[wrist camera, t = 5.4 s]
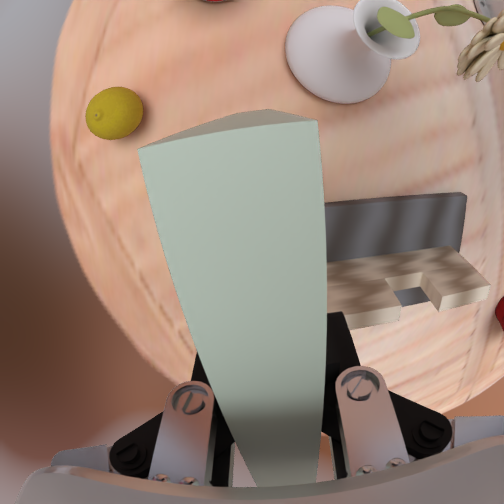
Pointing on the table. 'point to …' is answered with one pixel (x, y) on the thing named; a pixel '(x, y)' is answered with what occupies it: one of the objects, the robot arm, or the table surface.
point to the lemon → (114, 113)
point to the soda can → (214, 0)
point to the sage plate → (251, 276)
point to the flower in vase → (376, 46)
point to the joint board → (397, 257)
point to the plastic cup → (500, 312)
